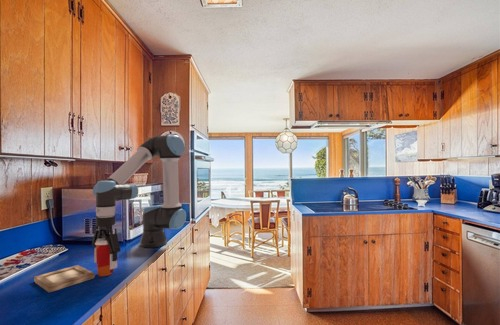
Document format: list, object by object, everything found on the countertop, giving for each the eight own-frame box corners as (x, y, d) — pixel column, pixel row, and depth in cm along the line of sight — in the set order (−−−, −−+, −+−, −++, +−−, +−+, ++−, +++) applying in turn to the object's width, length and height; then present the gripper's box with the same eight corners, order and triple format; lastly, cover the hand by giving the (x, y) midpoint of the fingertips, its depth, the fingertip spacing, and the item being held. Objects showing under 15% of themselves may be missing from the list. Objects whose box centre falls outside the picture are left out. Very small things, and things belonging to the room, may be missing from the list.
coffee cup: (108, 268, 123) (108, 235, 123) (120, 272, 119) (120, 237, 119) (90, 275, 116) (90, 240, 116) (102, 279, 112) (102, 242, 112)
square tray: (77, 269, 122) (77, 264, 122) (94, 278, 113) (94, 273, 113) (34, 281, 109) (34, 276, 109) (48, 292, 100) (48, 286, 100)
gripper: (83, 214, 122) (83, 261, 122) (111, 220, 107) (111, 274, 107) (100, 212, 128) (100, 257, 128) (129, 217, 113) (129, 268, 113)
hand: (105, 265), depth 117 cm, fingers open, 13 cm apart
